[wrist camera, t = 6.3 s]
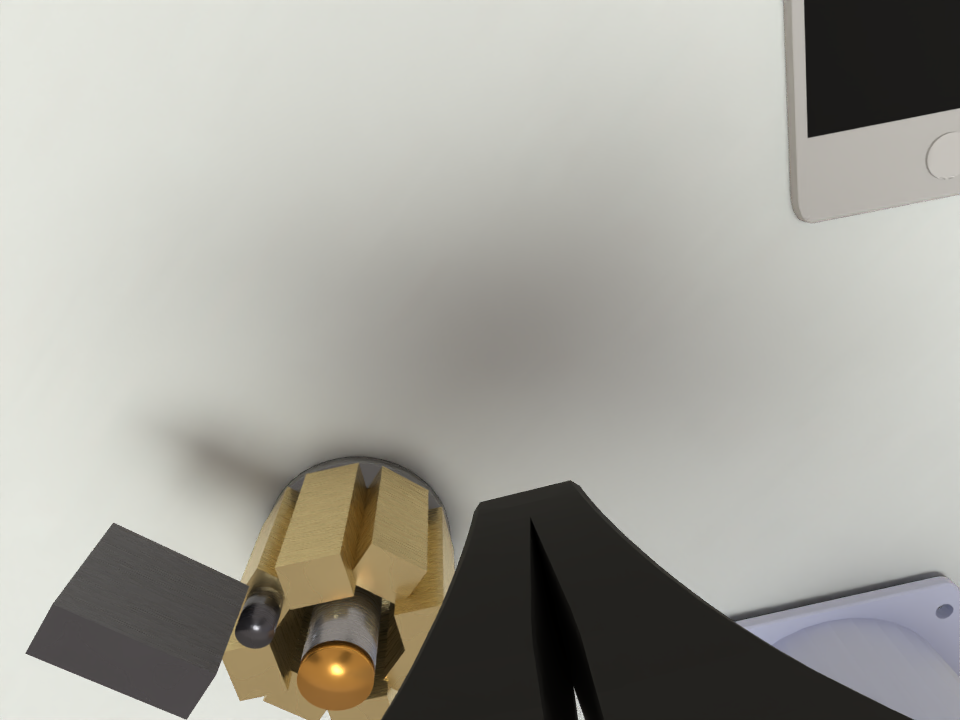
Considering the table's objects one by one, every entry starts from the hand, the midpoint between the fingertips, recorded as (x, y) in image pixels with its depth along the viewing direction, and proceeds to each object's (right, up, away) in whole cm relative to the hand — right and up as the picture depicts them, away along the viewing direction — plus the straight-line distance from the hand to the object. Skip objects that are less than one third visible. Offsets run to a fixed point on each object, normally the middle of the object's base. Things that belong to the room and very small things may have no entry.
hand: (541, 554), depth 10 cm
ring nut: (-5, -2, +10) cm, 11 cm away
